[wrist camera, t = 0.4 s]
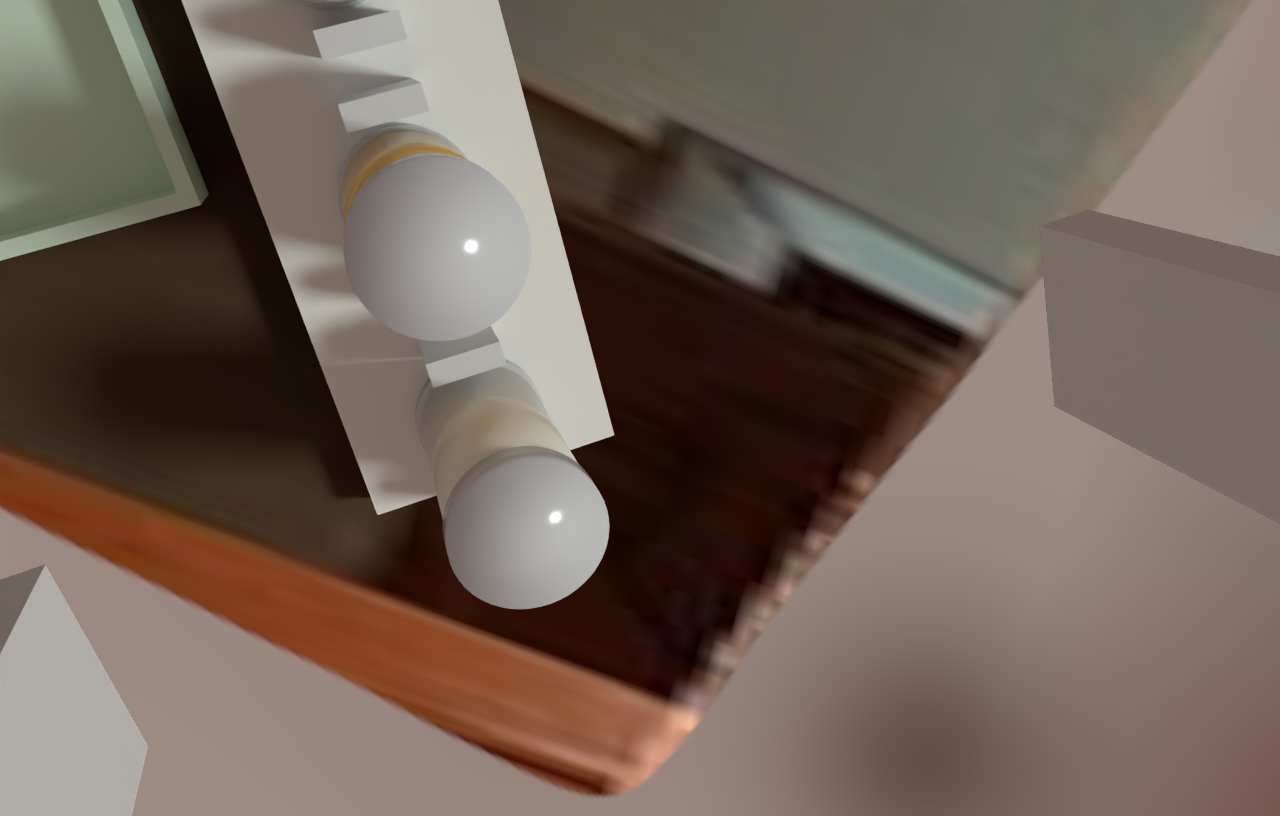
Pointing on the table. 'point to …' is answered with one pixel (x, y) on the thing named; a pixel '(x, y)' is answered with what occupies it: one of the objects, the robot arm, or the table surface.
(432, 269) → the fuse amber
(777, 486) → the table surface
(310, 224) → the fuse panel
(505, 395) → the fuse cream far
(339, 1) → the ball
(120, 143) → the tray
